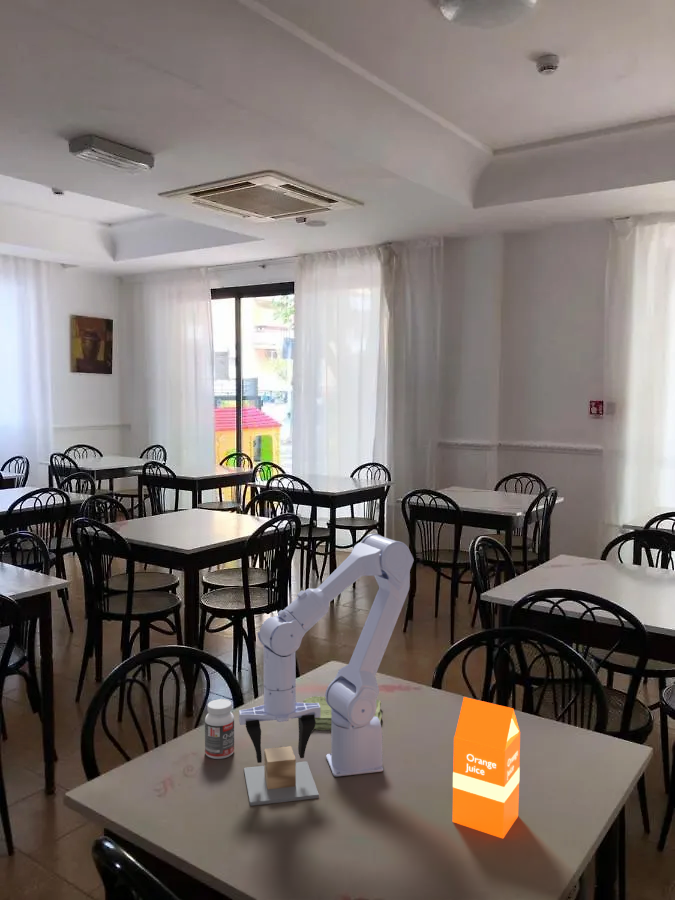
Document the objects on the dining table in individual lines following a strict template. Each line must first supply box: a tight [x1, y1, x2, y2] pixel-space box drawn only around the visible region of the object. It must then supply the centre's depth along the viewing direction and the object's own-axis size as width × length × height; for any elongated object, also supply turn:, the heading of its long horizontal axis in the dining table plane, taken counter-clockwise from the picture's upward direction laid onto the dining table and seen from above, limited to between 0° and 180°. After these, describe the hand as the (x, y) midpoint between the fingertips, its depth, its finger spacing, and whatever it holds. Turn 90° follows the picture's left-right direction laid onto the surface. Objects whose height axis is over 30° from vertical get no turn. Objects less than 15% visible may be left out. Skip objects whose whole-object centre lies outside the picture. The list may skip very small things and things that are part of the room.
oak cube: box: [263, 745, 297, 789], centre depth 134 cm, size 5×5×5 cm
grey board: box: [243, 761, 320, 807], centre depth 134 cm, size 12×12×1 cm
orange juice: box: [451, 696, 521, 839], centre depth 123 cm, size 8×9×20 cm
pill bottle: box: [204, 698, 235, 760], centre depth 145 cm, size 6×6×10 cm
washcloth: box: [302, 695, 383, 731], centre depth 161 cm, size 13×18×3 cm
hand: (280, 757), depth 134 cm, fingers open, 7 cm apart
